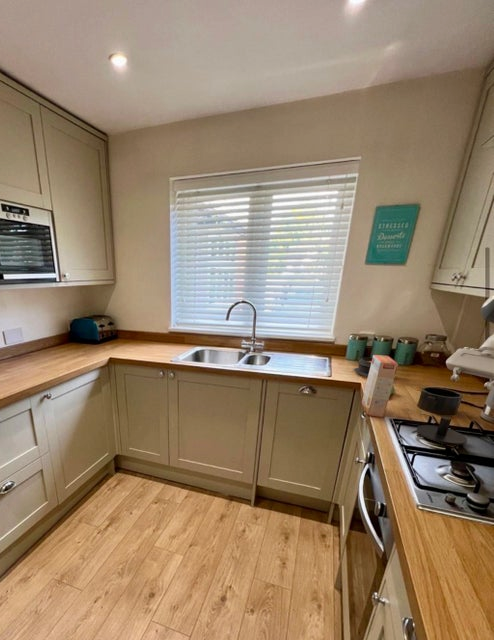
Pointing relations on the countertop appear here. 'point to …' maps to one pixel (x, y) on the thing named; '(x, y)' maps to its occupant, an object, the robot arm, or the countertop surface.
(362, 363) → the dark grey rounded piece
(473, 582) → the countertop surface
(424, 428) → the lid
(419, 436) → the plate
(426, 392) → the pot
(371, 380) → the cracker box
